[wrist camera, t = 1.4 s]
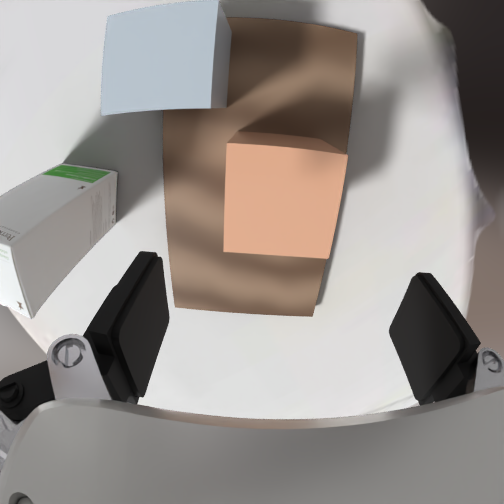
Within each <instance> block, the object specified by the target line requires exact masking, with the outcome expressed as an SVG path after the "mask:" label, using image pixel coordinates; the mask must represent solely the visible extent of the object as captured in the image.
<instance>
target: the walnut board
mask: <svg viewBox="0 0 504 504" xmlns="http://www.w3.org/2000/svg"><path fill="white" fill-rule="evenodd" d="M226 18H227V21H228V24H229V26H230V29H231V31H232V36H231V49H230V62H229V77H228V92H227V108H197V109H166V110H163V173H164V197H165V214H166V228H167V240H168V251H169V262H170V271H171V280H172V288H173V296H174V304H175V307H177V308H187V309H197V310H208V311H219V312H232V313H246V314H263V315H283V316H310V317H312V316H313V313H314V309H315V305H316V301H317V297H318V293H319V289H320V285H321V281H322V277H323V273H324V268H325V264H326V260H327V259H323V258H308V257H293V256H278V255H263V254H249V253H234V252H223V251H224V205H225V174H226V149H227V142H228V141H229V140H230V139H231V138H232V137H233V136H234V134H235V133H236V132H237V131H243V132H259V133H272V134H283V135H293V136H302V137H310V138H317V139H321V140H323V141H325V142H327V143H328V144H330V145H332V146H334V147H335V148H337V149H339V150H340V151H342V152H344V153H345V154H346V152H347V145H348V137H349V129H350V121H351V112H352V103H353V93H354V82H355V69H356V54H357V33H353V32H349V31H345V30H340V29H336V28H331V27H326V26H320V25H315V24H308V23H302V22H294V21H286V20H276V19H263V18H237V17H226Z"/></svg>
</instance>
